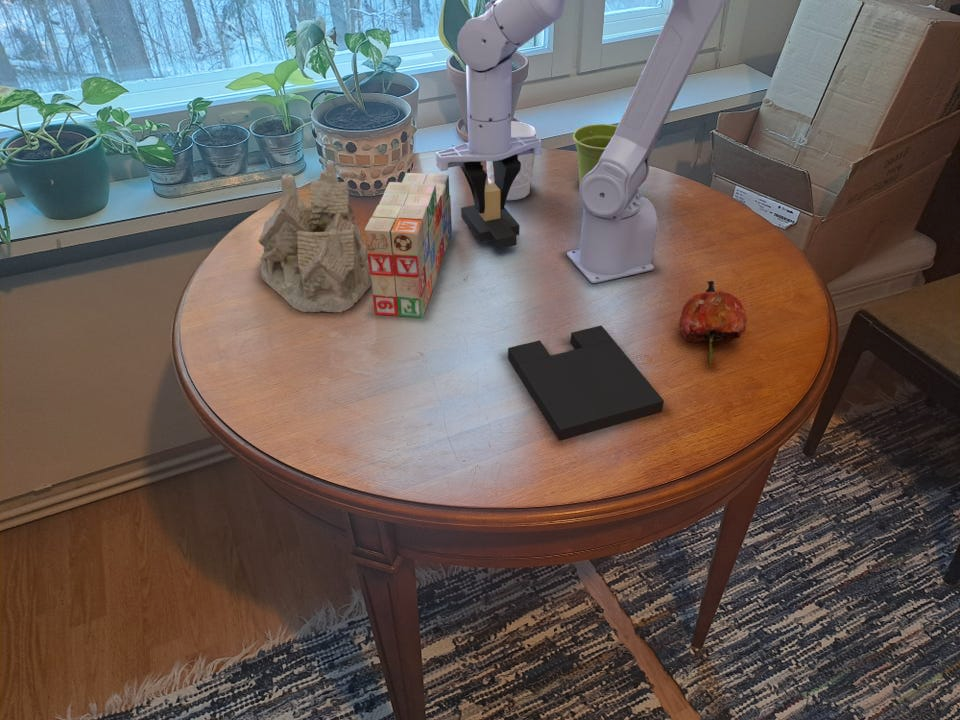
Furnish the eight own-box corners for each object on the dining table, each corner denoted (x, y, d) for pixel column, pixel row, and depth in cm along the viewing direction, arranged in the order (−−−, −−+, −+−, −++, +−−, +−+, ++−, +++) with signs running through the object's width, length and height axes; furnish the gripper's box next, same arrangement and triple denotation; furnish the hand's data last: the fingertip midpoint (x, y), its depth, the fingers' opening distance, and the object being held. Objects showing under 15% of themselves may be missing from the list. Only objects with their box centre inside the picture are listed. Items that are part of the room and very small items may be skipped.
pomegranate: (740, 375, 83) (748, 294, 85) (744, 359, 76) (753, 272, 78) (675, 368, 85) (684, 289, 87) (673, 352, 78) (684, 268, 80)
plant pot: (612, 206, 110) (619, 153, 104) (559, 191, 114) (562, 139, 108) (636, 183, 116) (644, 131, 110) (585, 169, 120) (589, 119, 114)
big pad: (661, 411, 75) (664, 400, 74) (559, 441, 72) (560, 429, 71) (600, 335, 85) (601, 325, 84) (507, 358, 82) (507, 347, 81)
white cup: (488, 179, 118) (488, 119, 111) (535, 181, 117) (538, 122, 110) (481, 201, 112) (481, 140, 105) (531, 204, 111) (534, 142, 104)
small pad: (526, 243, 98) (527, 204, 95) (486, 251, 97) (485, 212, 93) (498, 210, 106) (499, 172, 102) (461, 217, 105) (459, 179, 101)
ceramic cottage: (278, 241, 102) (258, 145, 92) (389, 255, 100) (380, 158, 90) (233, 309, 91) (204, 208, 81) (356, 326, 89) (342, 225, 79)
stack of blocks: (411, 230, 105) (404, 151, 97) (452, 233, 104) (449, 153, 96) (374, 315, 89) (363, 228, 81) (423, 319, 88) (416, 231, 80)
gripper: (528, 96, 97) (525, 187, 105) (426, 111, 93) (432, 204, 102) (550, 113, 92) (545, 208, 100) (443, 130, 88) (448, 227, 97)
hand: (489, 208), depth 101 cm, fingers closed on small pad, 2 cm apart
